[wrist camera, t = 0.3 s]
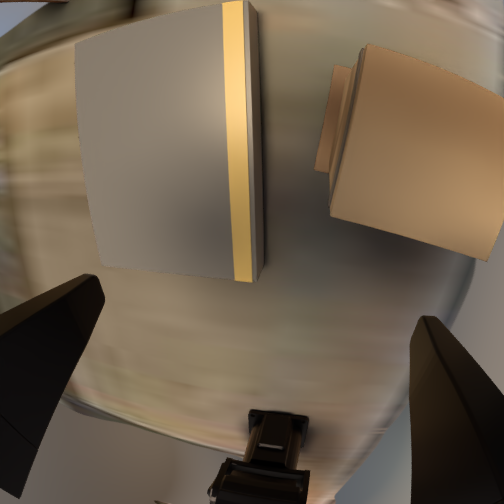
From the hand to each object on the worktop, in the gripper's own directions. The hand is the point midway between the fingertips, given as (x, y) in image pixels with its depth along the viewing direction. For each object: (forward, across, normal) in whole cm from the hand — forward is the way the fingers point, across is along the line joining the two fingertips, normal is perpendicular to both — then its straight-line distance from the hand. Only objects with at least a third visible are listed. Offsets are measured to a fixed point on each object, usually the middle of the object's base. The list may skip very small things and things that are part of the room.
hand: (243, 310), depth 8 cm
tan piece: (+15, -5, -2) cm, 16 cm away
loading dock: (+14, +9, -1) cm, 17 cm away
